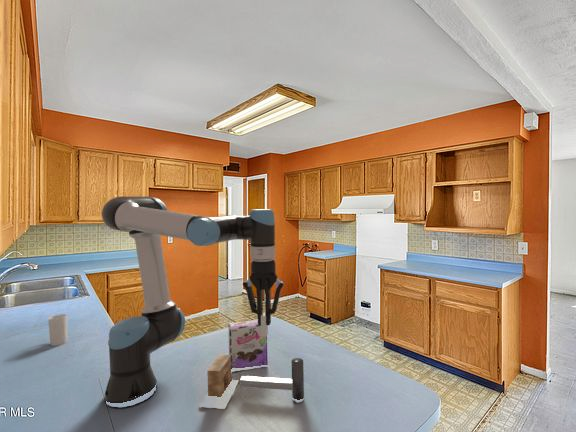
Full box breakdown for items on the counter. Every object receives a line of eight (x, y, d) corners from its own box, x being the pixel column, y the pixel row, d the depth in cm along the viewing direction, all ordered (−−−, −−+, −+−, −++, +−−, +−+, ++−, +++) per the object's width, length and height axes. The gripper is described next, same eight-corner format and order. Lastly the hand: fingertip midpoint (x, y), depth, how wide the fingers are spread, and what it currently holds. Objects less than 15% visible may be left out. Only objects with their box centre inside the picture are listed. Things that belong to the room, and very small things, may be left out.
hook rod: (239, 398, 97) (238, 360, 97) (243, 391, 101) (242, 355, 100) (303, 403, 94) (302, 364, 94) (304, 396, 98) (303, 358, 97)
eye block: (199, 407, 94) (198, 373, 93) (216, 381, 107) (216, 351, 107) (224, 409, 92) (223, 375, 92) (239, 383, 106) (238, 352, 106)
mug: (71, 341, 143) (70, 315, 143) (55, 347, 137) (53, 320, 137) (58, 337, 147) (57, 312, 147) (42, 343, 141) (41, 317, 141)
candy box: (230, 373, 112) (229, 328, 112) (229, 365, 118) (227, 322, 118) (268, 367, 116) (267, 323, 116) (265, 360, 122) (263, 318, 121)
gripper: (238, 261, 93) (240, 339, 94) (281, 261, 91) (283, 341, 92) (246, 257, 101) (247, 329, 102) (286, 257, 99) (287, 331, 100)
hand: (264, 334), depth 97 cm, fingers closed
